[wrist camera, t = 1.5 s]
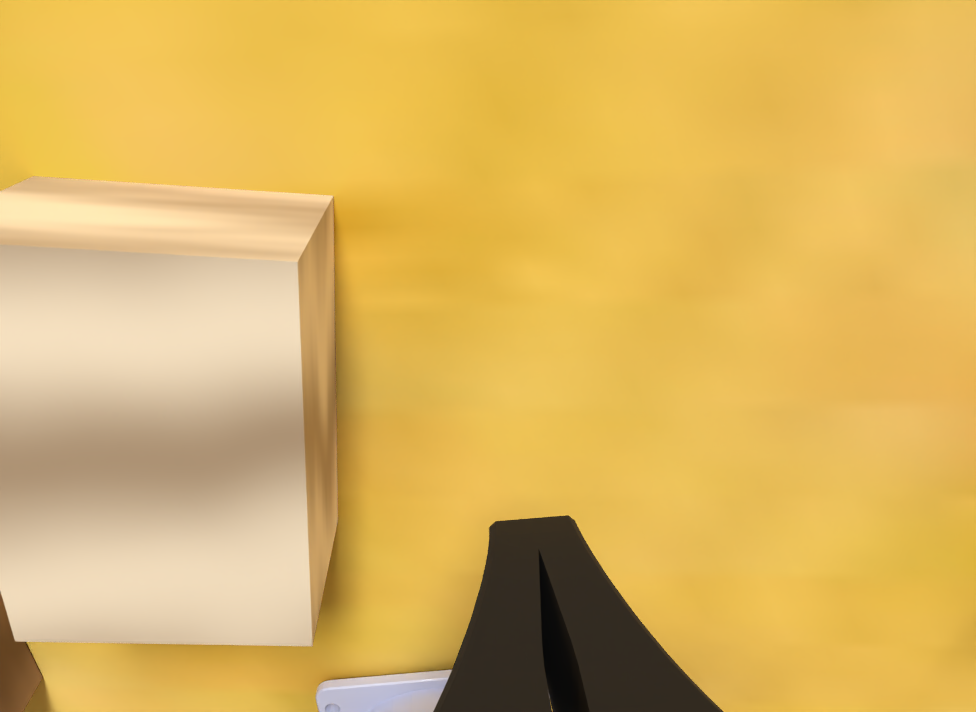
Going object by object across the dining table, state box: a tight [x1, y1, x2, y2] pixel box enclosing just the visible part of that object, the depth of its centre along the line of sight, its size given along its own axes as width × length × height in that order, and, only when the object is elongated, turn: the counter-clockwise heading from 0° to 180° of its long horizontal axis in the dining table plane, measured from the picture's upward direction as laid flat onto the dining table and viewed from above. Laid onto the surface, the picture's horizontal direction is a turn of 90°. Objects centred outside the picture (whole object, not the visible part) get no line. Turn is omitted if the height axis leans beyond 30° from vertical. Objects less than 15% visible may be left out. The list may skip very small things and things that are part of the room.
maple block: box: [0, 176, 338, 646], centre depth 18 cm, size 10×7×5 cm
